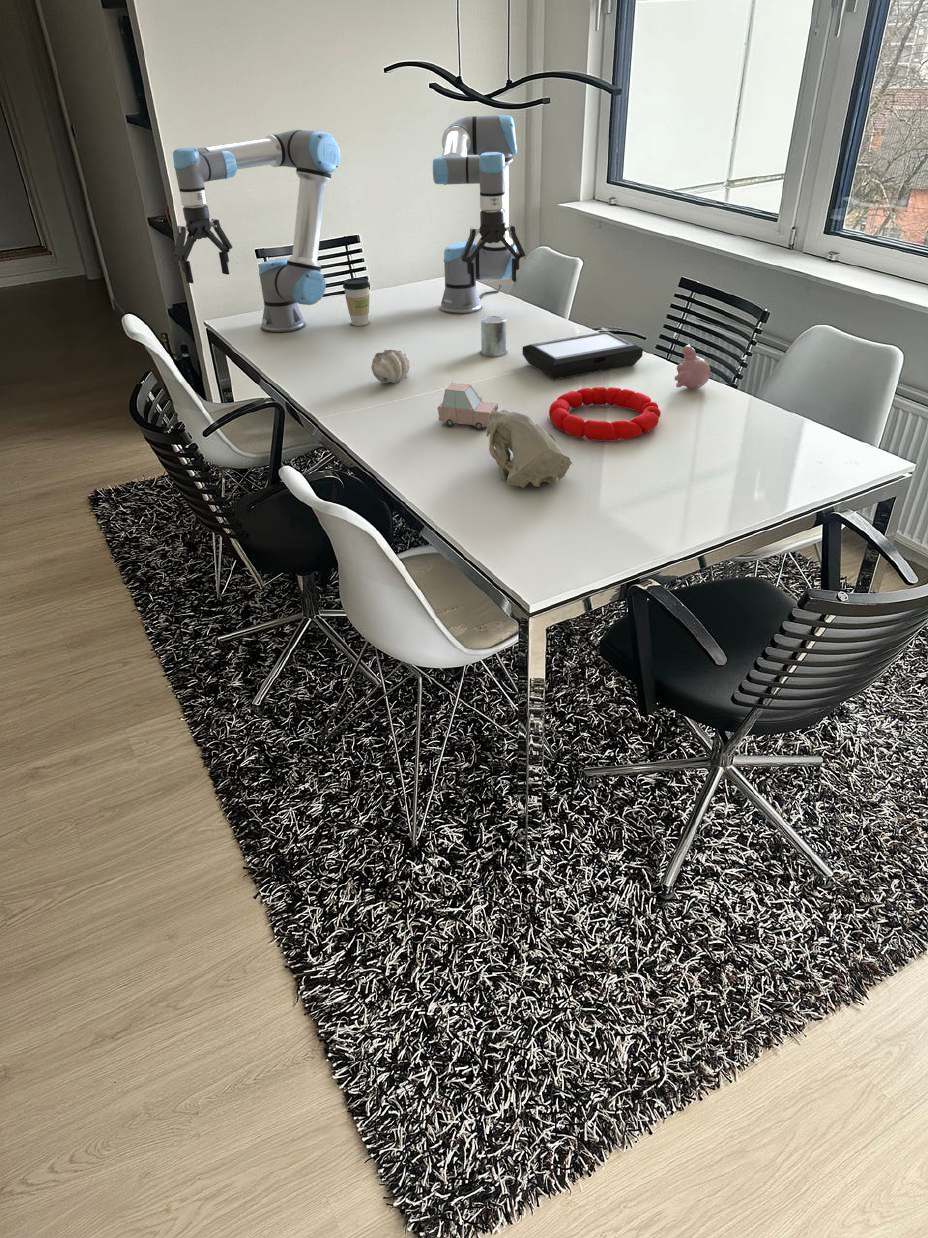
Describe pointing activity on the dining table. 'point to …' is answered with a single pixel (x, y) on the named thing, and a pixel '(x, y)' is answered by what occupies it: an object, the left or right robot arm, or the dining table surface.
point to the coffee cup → (357, 300)
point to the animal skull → (525, 450)
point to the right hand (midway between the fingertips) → (493, 282)
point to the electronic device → (582, 354)
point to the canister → (493, 336)
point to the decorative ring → (604, 428)
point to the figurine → (692, 370)
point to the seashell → (390, 366)
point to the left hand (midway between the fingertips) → (208, 278)
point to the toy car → (465, 406)
